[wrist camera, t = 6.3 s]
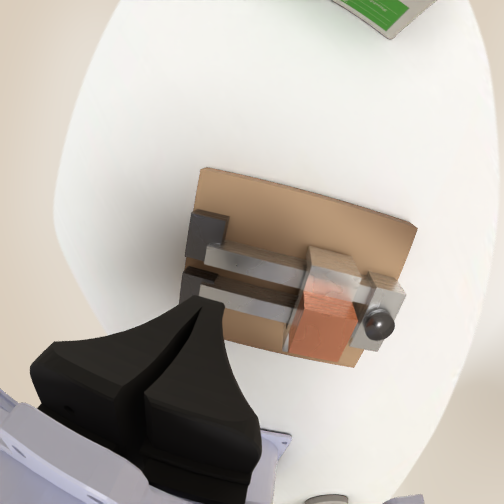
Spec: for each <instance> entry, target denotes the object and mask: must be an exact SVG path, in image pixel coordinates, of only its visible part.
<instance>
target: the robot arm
mask: <svg viewBox="0 0 504 504" xmlns="http://www.w3.org/2000/svg"><path fill="white" fill-rule="evenodd" d="M224 309H225V305H224V303H222V302H219V301H215V300H211V299H208V298H204V297H201V296H197V295H193V296H191V297H190V298H188V299H187V300H185V301H184V302H182V303H181V304H179V305H177V306H176V307H174V308H173V309H171V310H169V311H167V312H166V313H164V314H162V315H161V316H159V317H157V318H155V319H153V320H151V321H149V322H147V323H145V324H142V325H140V326H137V327H135V328H132V329H129V330H126V331H123V332H119V333H116V334H112V335H108V336H105V337H100V338H94V339H87V340H79V341H62V342H53V343H52V344H51V345H50V346H49V347H48V348H47V349H46V350H45V351H44V352H43V353H42V354H41V355H40V356H39V357H38V358H37V359H36V360H35V361H34V362H33V363H32V365H31V366H30V375H31V379H32V382H33V384H34V387H35V389H36V392H37V394H38V396H39V399H40V401H41V405H40V406H39V407H38V408H35V407H33V406H31V405H29V404H27V403H23V402H22V403H18V402H17V401H15V400H14V399H13V398H11V397H10V396H9V395H7V394H6V393H5V392H4V391H3V390H1V389H0V504H273V496H274V487H275V478H276V469H277V461H278V460H279V458H280V457H281V456H282V454H283V453H284V451H285V450H286V448H287V447H288V445H289V444H290V442H291V441H292V437H291V436H290V435H285V434H280V433H274V432H268V431H263V430H260V426H259V421H258V417H257V416H256V414H255V413H254V411H253V410H252V408H251V407H250V405H249V404H248V402H247V401H246V399H245V397H244V395H243V394H242V392H241V390H240V388H239V386H238V384H237V381H236V379H235V377H234V375H233V372H232V369H231V367H230V364H229V360H228V357H227V353H226V349H225V343H224V337H223V326H222V319H223V314H224ZM383 504H424V499H423V495H422V494H418V495H411V496H404V497H396V498H393V499H390V500H388V501H386V502H384V503H383Z"/></svg>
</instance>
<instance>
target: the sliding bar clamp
mask: <svg viewBox="0 0 504 504" xmlns="http://www.w3.org/2000/svg"><path fill="white" fill-rule="evenodd" d="M229 218H230V216H226V215H222V214H218V213H214V212H210V211H205V210H201V209H196V210H195V211H193V212H192V213H191V218H190V225H189V231H188V238H187V245H186V252H185V256H186V257H189V258H193V259H197V260H201V261H204V264H206V265H209V266H213V267H217V268H221V269H225V270H228V271H232V272H236V273H240V274H244V275H248V276H251V277H255V278H259V279H263V280H267V281H271V282H275V283H279V284H283V285H287V286H291V287H295V288H299V289H300V288H301V285H302V282H303V279H304V276H305V273H306V270H307V261H306V260H304V259H301V258H297V257H293V256H289V255H285V254H281V253H277V252H273V251H269V250H265V249H261V248H257V247H254V246H250V245H246V244H242V243H238V242H234V241H230V240H226V239H225V238H226V233H227V228H228V223H229ZM360 275H361V277H362V279H361V282H360V284H359V287H358V289H357V291H356V294H355V296H354V299H353V302H355V304H354V306H353V307H354V310H355V313H356V316H357V319H358V322H357V325H356V327H355V329H354V331H353V333H352V335H351V337H350V339H349V341H348V343H349V347H354V348H359V349H365V350H371V351H376V352H377V351H378V350H379V348H380V346H381V344H382V342H383V341H384V339H385V338H387V337H388V336H390V335H391V333H392V332H393V330H394V327H395V323H394V320H395V318H396V316H397V314H398V312H399V310H400V307H401V305H402V303H403V301H404V299H405V297H406V293H405V292H404V290H403V289H402V287H401V286H400V284H399V283H398V281H397V280H396V278H394V277H390V276H386V275H382V274H379V273H375V272H371V271H368V272H367V275H362V274H360ZM193 295H197V296H201V297H204V298H208V299H211V300H215V301H219V302H222V303H224V305H225V308H228V309H232V310H236V311H239V312H243V313H247V314H251V315H255V316H259V317H263V318H267V319H271V320H275V321H279V322H283V323H289V321H290V318H291V315H292V312H293V309H294V306H295V303H296V300H297V297H298V296H297V295H293V294H289V293H285V292H281V291H277V290H273V289H269V288H265V287H261V286H257V285H253V284H250V283H246V282H242V281H238V280H234V279H230V278H227V277H223V276H219V275H218V273H214V272H210V271H207V270H203V269H199V268H195V267H192V266H188V267H187V268H186V269H185V271H184V272H183V275H182V283H181V291H180V300H179V304H181V303H182V302H184V301H185V300H187V299H188V298H190V297H191V296H193Z"/></svg>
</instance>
